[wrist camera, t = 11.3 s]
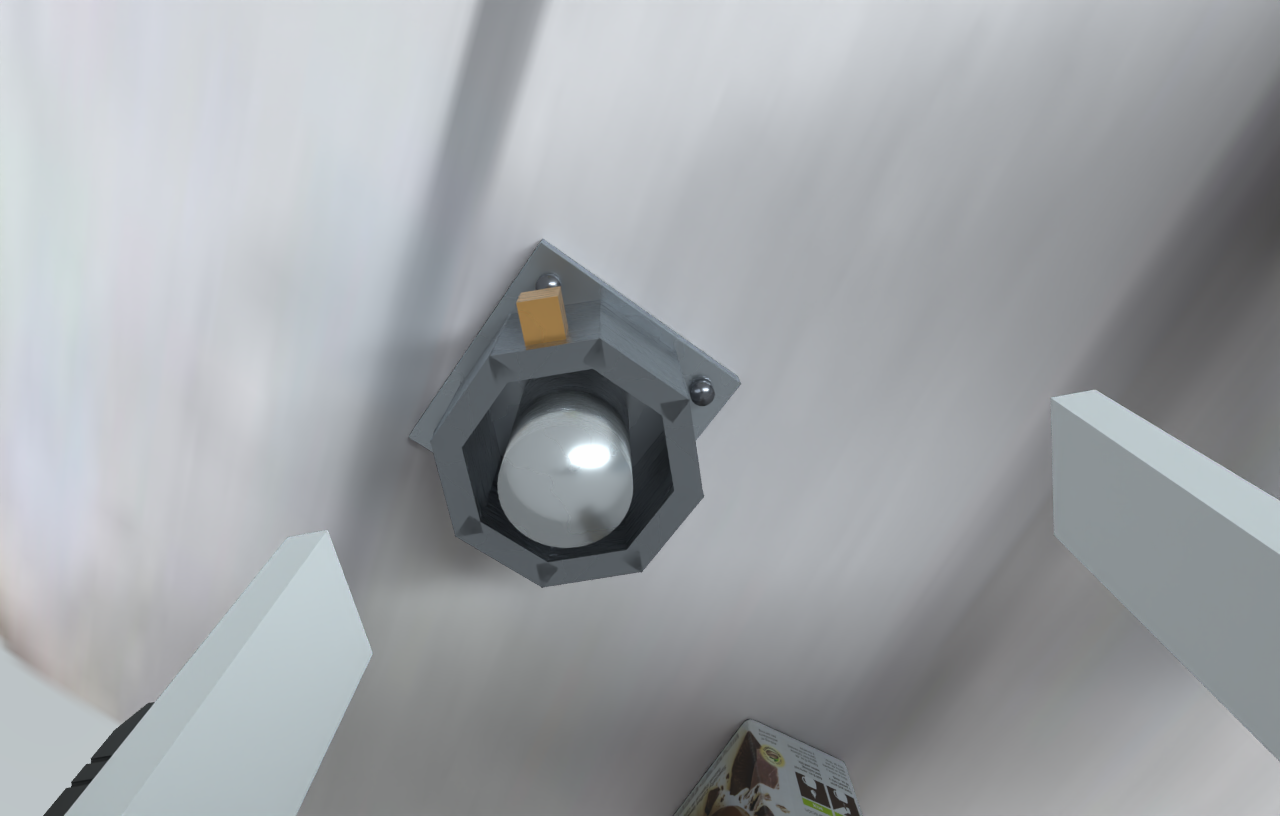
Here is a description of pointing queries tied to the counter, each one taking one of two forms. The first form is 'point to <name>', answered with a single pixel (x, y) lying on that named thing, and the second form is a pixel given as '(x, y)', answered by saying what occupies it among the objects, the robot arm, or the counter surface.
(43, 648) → the counter surface
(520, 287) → the bolted post base
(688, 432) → the collar
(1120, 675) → the counter surface
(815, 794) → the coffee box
